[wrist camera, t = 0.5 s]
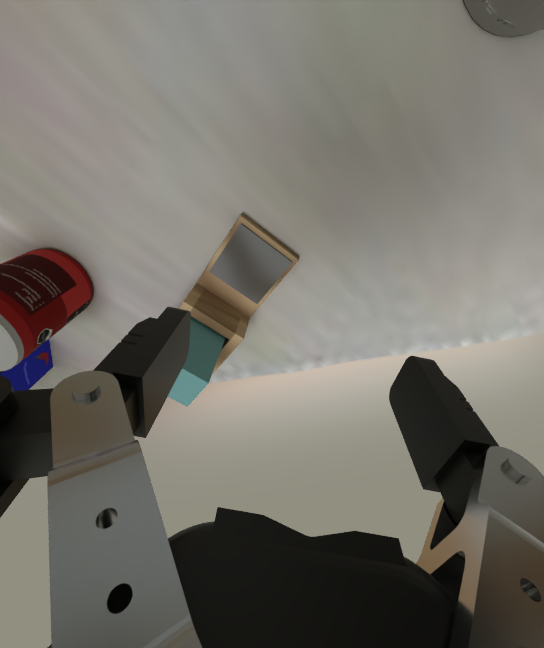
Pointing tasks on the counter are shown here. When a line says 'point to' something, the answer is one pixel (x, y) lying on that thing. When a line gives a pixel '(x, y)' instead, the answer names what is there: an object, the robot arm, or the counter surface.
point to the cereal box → (30, 368)
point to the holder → (238, 282)
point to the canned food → (38, 301)
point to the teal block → (197, 362)
